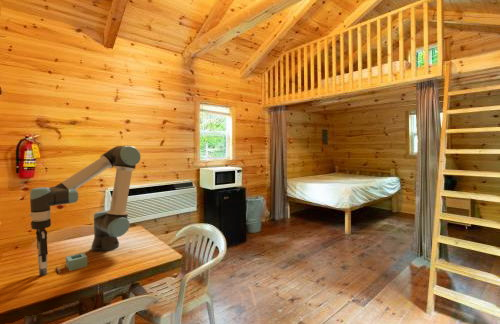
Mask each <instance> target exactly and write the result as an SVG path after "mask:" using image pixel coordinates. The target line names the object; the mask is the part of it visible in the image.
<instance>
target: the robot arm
mask: <svg viewBox="0 0 500 324" xmlns="http://www.w3.org/2000/svg"><path fill="white" fill-rule="evenodd" d="M141 158H142V157H141V153H140V151H139V149H138V148H136V147H135V146H132V145H118V146H115V147H112V148H111V149H109V150H107V151H105V152H104V153H102V154H101V155H100V156H99V158H98V159H97V160H95V161H94V162H92V163H90V164H89V165H87V166H85V167H84V168H82V169H81V170H79V171H77V172H76V173H74V174H73V175H71V176H69V177H67V178H66V179H65V180H63V181H61V182H60V183H58V184H56V185H55V186H50V187H45V186H44V187H36V188H35V187H34V188H31V190H30V192H29V203H30V205H29V206H30V214H29V217H30V220H31V222H30V226H31V227H30V228H31V229H32V230H36V231H35V235H36V249H37V250H38V242H39V244H40V255H38V254H37V264H39V256H40V269H43V268H47V269H48V263H49V261H48V255H49V252H48V251H49V250H48V231H47V230H46V228H47V229H48V228H50V227H51V225H52V220H51V217H52V215H51V207H53V206H60V205H61V206H62V205H67V204H73V203H74V204H75V203H77V202H78V200H79V192H78V190H77V189H79V188H80V187H82V186H84V185H85V184H86V183H88V182H89V181H92V179H94V178H95V177H97V176H99V175H100V174H102V173H103V172H104V171H106V170H107V169H112V168H115V170H116V171H115V177H114V184H113V189H112V196H111V201H110V208H109V210H102V211H97V212H95V213H94V214H93V233H94V237H93V241H92V242H91V246H90V247H91V248H90V249H91V251H92V252H94V253H103V252H109V251H112V250H116V249H117V248H119V247H120V246H119V245H120V241H119V240H118V238H120V237H123V236H125V234H126V233H127V232H129V229H130V227H131V225H130V221H129V219H128V216H129V212H127V205H128V198H129V194H130V193H129V192H130V186H131V179H132V174H133V171H135V170H136V166H137V164H138V163H140V161H141Z"/></svg>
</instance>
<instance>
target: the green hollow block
mask: <svg viewBox="0 0 500 324" xmlns="http://www.w3.org/2000/svg"><path fill="white" fill-rule="evenodd" d="M65 265H66V268H67V270H68V271H69V272H71V271H74V270H79V269H81V268H86V267H88V256H87V255H86V254H85V253H84V252H80V253H76V254H71V255H67V256H65Z"/></svg>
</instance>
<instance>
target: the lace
mask: <svg viewBox="0 0 500 324" xmlns="http://www.w3.org/2000/svg"><path fill="white" fill-rule="evenodd" d="M55 269H56V271H57V273H58V274H61V272H62V271H61V270H60V267H58V266H56V267H55Z"/></svg>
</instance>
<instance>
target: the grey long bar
mask: <svg viewBox="0 0 500 324" xmlns="http://www.w3.org/2000/svg"><path fill="white" fill-rule="evenodd" d="M38 255H40V244H39V242H38V249H37V256H38ZM38 272H39V273H38V275H39V277H44V276H46V275H47V274H48V267H47V268H43V269H40V256H39V263H38Z"/></svg>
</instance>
